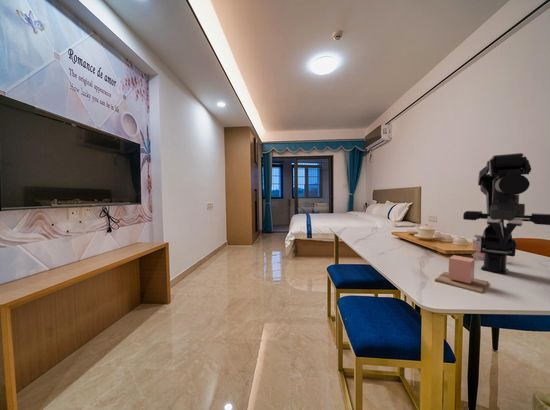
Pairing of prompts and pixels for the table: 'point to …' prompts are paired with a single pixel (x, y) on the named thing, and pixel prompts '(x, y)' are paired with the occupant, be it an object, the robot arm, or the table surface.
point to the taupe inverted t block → (463, 283)
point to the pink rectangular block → (461, 269)
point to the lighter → (477, 248)
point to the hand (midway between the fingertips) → (503, 244)
